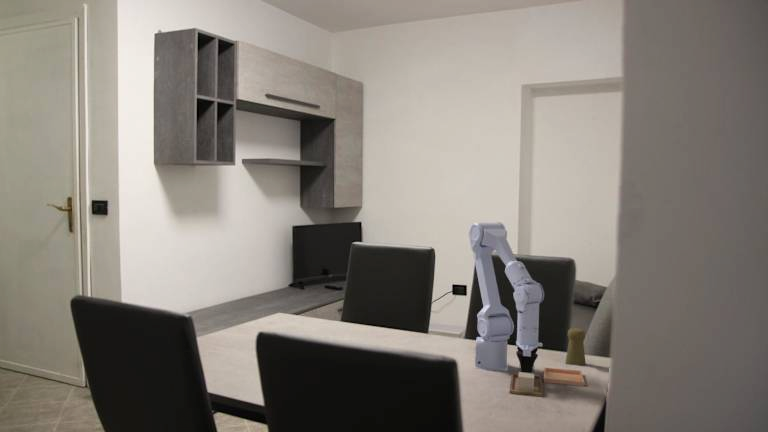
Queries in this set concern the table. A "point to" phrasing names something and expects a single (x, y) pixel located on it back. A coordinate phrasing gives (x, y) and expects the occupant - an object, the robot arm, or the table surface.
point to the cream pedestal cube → (526, 382)
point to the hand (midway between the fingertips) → (526, 375)
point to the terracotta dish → (563, 376)
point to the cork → (576, 347)
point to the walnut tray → (515, 391)
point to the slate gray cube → (520, 369)
